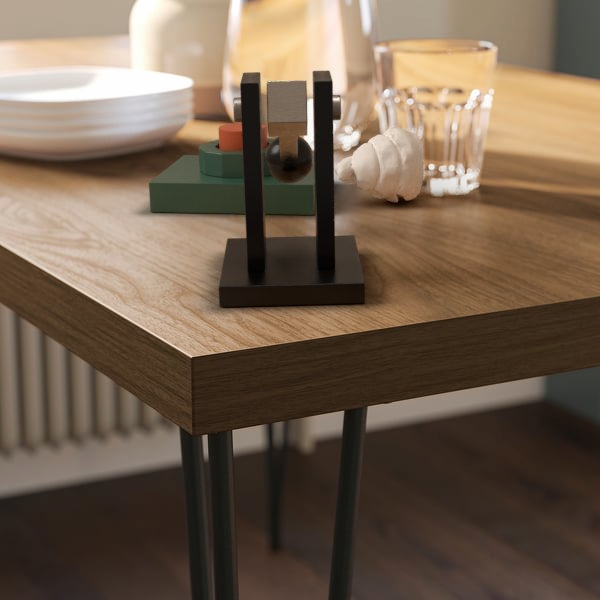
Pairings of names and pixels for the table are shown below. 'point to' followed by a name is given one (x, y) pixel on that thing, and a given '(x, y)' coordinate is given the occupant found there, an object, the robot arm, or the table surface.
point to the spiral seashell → (386, 165)
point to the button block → (224, 186)
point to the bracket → (290, 250)
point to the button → (235, 137)
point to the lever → (288, 131)
